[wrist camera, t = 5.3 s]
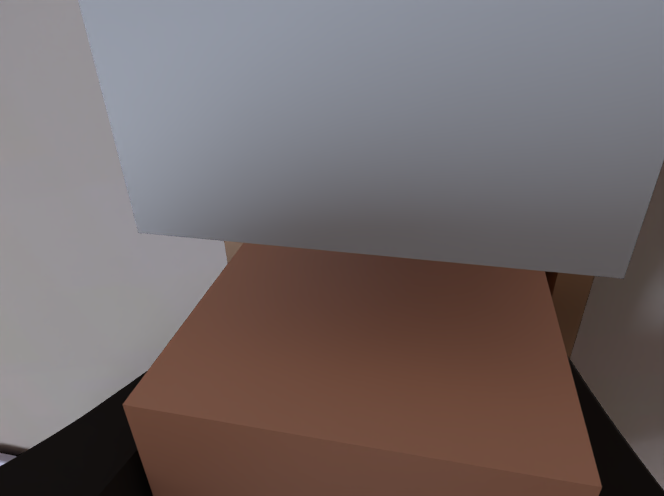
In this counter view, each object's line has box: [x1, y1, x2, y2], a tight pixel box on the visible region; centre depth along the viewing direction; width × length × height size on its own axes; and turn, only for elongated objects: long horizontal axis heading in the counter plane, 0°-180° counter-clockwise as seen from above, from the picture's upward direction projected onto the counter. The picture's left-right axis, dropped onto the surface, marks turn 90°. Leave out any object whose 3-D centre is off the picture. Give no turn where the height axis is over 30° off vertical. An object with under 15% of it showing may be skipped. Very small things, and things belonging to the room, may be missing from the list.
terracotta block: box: [123, 243, 602, 496], centre depth 8 cm, size 4×4×6 cm
